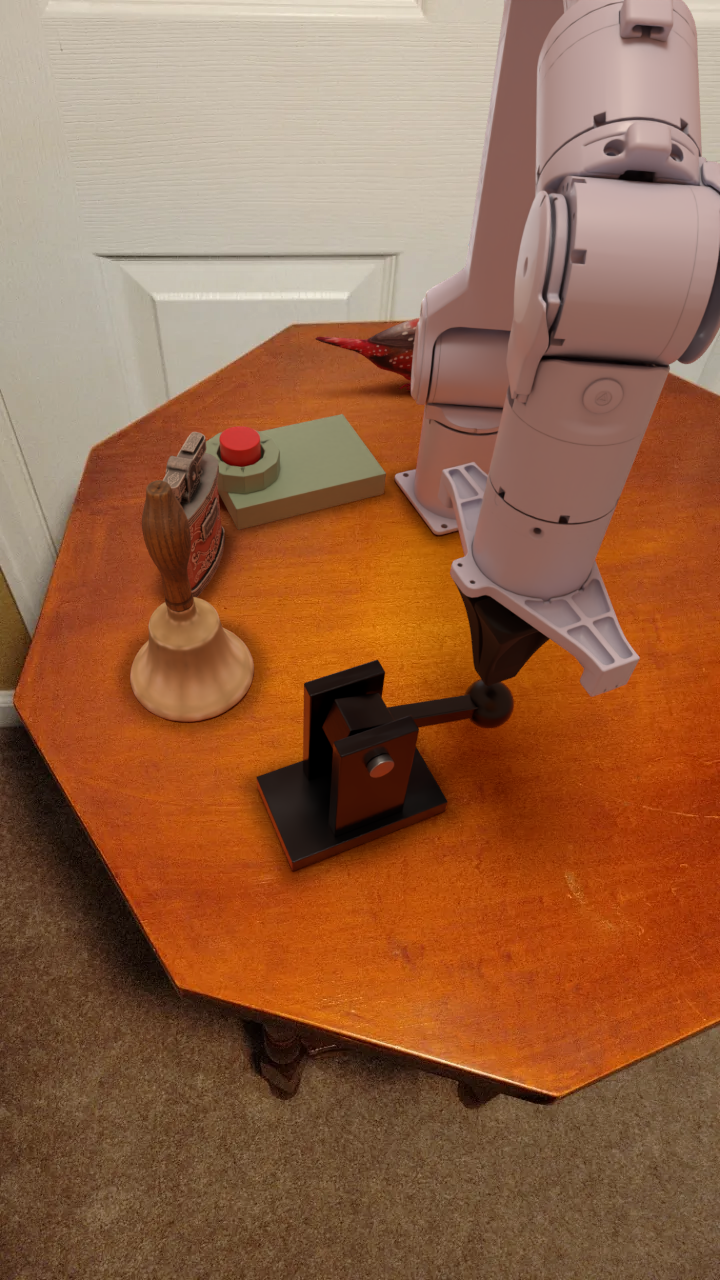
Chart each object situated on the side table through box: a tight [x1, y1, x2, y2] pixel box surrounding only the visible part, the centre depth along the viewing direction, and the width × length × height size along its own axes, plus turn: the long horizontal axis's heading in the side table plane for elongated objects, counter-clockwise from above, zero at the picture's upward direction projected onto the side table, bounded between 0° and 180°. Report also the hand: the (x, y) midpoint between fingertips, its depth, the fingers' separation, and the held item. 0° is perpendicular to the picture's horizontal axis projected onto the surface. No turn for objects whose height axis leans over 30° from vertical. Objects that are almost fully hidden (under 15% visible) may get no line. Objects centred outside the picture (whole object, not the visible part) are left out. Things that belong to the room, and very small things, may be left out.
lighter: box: [162, 431, 226, 598], centre depth 58 cm, size 8×3×10 cm, turn 168°
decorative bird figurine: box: [314, 317, 419, 391], centre depth 75 cm, size 3×18×10 cm, turn 103°
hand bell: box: [129, 479, 255, 723], centre depth 49 cm, size 8×8×16 cm
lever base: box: [255, 659, 449, 872], centre depth 46 cm, size 10×6×10 cm, turn 114°
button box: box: [205, 413, 387, 531], centre depth 67 cm, size 14×9×4 cm, turn 114°
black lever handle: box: [322, 678, 515, 748], centre depth 45 cm, size 12×3×3 cm, turn 114°
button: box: [219, 425, 261, 467], centre depth 64 cm, size 3×3×2 cm
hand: (495, 672), depth 45 cm, fingers closed
